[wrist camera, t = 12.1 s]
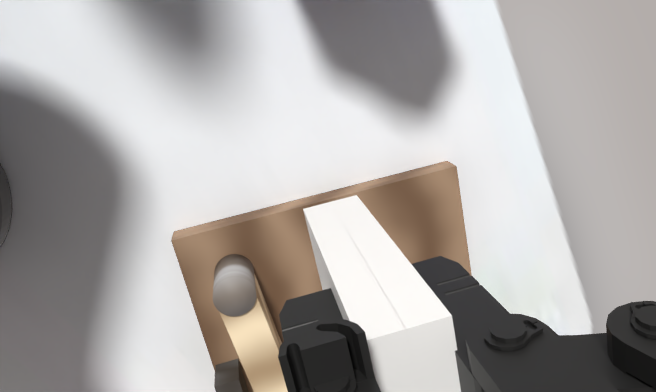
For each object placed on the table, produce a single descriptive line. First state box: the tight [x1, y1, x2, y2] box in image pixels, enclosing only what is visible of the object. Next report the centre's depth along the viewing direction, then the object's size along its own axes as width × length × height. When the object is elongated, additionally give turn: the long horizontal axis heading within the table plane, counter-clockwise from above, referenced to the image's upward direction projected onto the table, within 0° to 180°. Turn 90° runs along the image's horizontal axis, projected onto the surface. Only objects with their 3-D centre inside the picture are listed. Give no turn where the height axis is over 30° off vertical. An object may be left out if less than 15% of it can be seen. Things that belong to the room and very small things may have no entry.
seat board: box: [171, 161, 471, 392], centre depth 46 cm, size 24×20×5 cm
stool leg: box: [213, 254, 288, 392], centre depth 44 cm, size 16×3×4 cm, turn 17°
